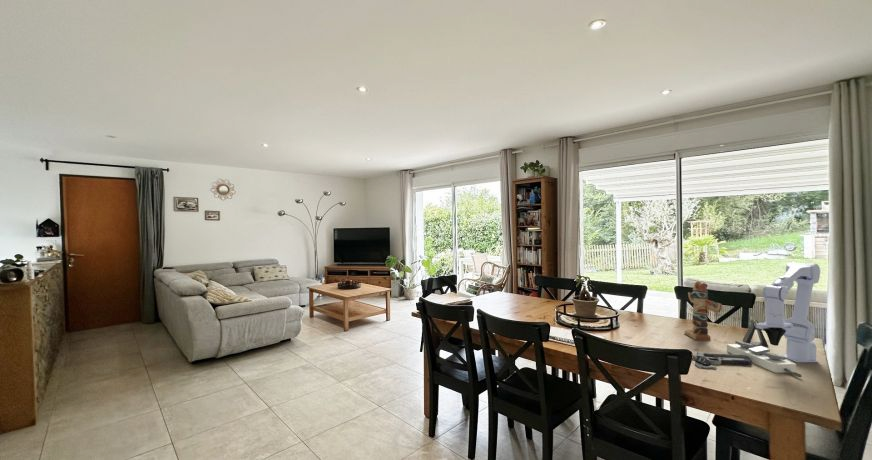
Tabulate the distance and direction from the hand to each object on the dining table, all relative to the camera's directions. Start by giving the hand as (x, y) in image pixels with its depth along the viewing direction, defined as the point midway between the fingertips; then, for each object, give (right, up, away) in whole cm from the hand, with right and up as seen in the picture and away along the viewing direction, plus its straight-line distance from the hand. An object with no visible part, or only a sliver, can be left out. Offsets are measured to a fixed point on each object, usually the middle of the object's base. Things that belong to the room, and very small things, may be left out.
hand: (774, 344), depth 154 cm
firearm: (-19, -11, +5) cm, 22 cm away
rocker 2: (0, -5, +7) cm, 9 cm away
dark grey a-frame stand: (+17, -9, +29) cm, 35 cm away
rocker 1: (0, -5, +14) cm, 15 cm away
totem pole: (-4, -9, +40) cm, 41 cm away
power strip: (0, -10, +4) cm, 11 cm away
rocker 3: (0, -5, 0) cm, 5 cm away
